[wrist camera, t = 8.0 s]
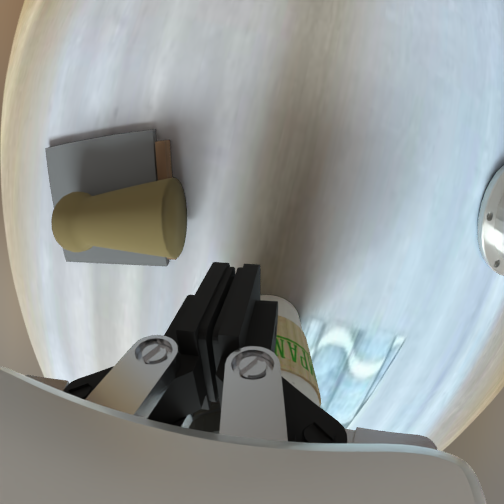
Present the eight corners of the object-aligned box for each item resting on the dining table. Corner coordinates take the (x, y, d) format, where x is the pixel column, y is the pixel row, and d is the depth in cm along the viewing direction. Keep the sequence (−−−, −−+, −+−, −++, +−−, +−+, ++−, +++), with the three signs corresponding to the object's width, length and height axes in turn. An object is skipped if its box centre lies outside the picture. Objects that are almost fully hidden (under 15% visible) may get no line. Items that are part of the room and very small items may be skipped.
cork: (190, 217, 26) (88, 221, 27) (175, 161, 22) (63, 174, 23) (177, 274, 23) (65, 270, 24) (153, 219, 18) (31, 225, 19)
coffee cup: (318, 354, 30) (328, 484, 17) (226, 358, 32) (198, 482, 18) (317, 273, 26) (340, 417, 13) (207, 280, 28) (152, 415, 14)
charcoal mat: (155, 129, 22) (152, 129, 22) (168, 263, 27) (166, 266, 27) (49, 147, 23) (45, 148, 23) (69, 258, 28) (66, 261, 28)
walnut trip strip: (169, 139, 23) (164, 141, 22) (180, 253, 27) (175, 259, 26) (160, 140, 23) (154, 141, 22) (171, 253, 27) (167, 259, 26)
